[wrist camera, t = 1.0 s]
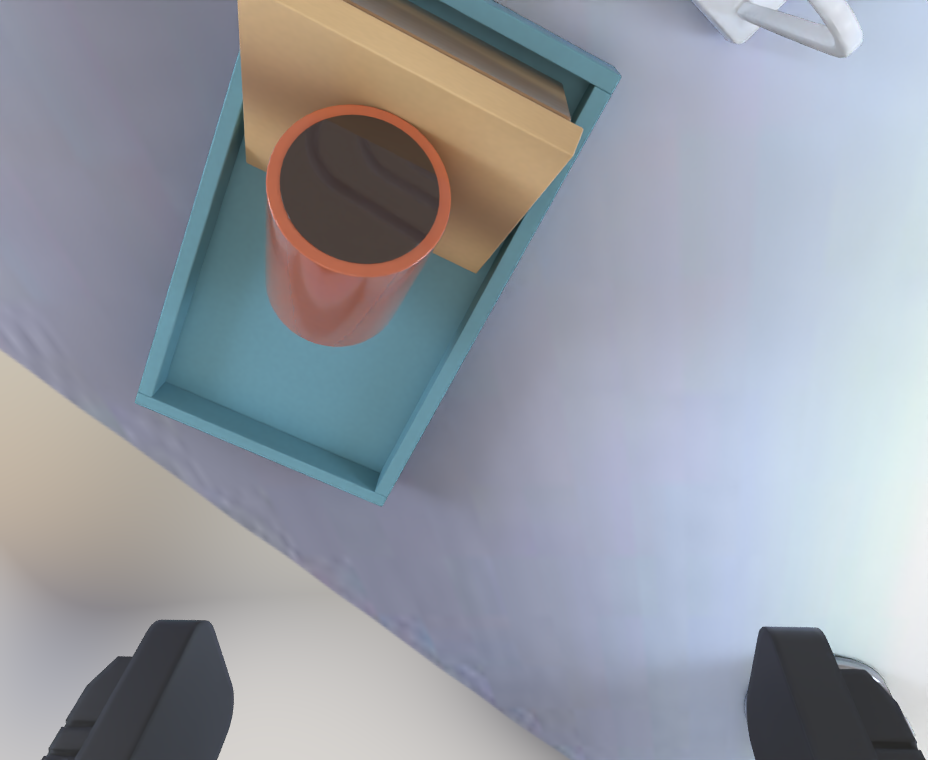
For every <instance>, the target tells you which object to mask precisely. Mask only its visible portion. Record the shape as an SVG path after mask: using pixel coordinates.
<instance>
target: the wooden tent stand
mask: <svg viewBox="0 0 928 760" xmlns="http://www.w3.org/2000/svg"><path fill="white" fill-rule="evenodd" d="M237 1H238V19H239V38H240V57H241V76H242V94H243V113H244V132H245V151H246V162H247V163H248V164H250V165H252V166H254V167H256V168H258V169H261V170H263V171H265V172H267V166H268V163H269V159H270V156H271V154H272V152H273V149H274V147H275V145H276V144H277V142H278V141H279V139H280V138H281V136H282V135H283V134H284V133H285V132H286V131H287V129H288V128H290V127H291V126H292V125H293V124H294V123H295V122H296V121H298V120H300V119H301V118H303V117H304V116H306V115H308V114H310V113H312V112H314V111H316V110H319V109H323V108H326V107H330V106H336V105H347V104H354V105H365V106H370V107H375V108H378V109H381V110H384V111H387V112H389V113H392V114H394V115H396V116H398V117H400V118H402V119H403V120H405V121H407V122H408V123H409V124H411V125H412V126H413V127H415V128H416V129H417V130H418V131H419V132H420V133H422V134H423V135H424V136H425V137H426V138H427V140H428V141H429V142H430V143H431V144H432V146H433V147H434V149H435V150H436V152H437V153H438V155H439V156H440V158H441V160H442V162H443V164H444V167H445V169H446V172H447V175H448V179H449V184H450V189H451V210H450V215H449V220H448V223H447V225H446V228H445V231H444V233H443V235H442V236H441V238H440V240H439V242H438V244H437V245H436V247H435V249H434V250H433V252H432V253H434V254H436V255H438V256H440V257H442V258H444V259H446V260H448V261H451V262H453V263H455V264H457V265H459V266H461V267H463V268H465V269H467V270H469V271H471V272H473V273H477V272H478V271H479V270H480V269H481V267H482V266H483V265H484V264H485V263H486V261H487V260H488V259H489V258H490V256H491V255H492V254H493V253H494V252H495V250H496V249H497V248H498V247H499V246H500V244H501V243H502V242H503V241H504V239H505V238H506V237H507V236H508V235H509V233H510V232H511V231H512V230H513V229H514V227H515V226H516V225H517V224H518V222H519V221H520V220H521V219H522V218H523V216H524V215H525V214H526V213H527V212H528V210H529V209H530V208H531V207H532V205H533V204H534V203H535V202H536V201H537V199H538V198H539V197H540V196H541V195H542V193H543V192H544V191H545V190H546V188H547V187H548V186H549V185H550V184H551V182H552V181H553V180H554V179H555V178H556V176H557V175H558V174H559V173H560V172H561V170H562V169H563V168H564V167H565V165H566V164H567V163H568V162H569V161H570V159H571V158H572V157H573V155H574V153H575V150H576V148H577V145H578V143H579V140H580V138H581V135H582V133H583V128H582V127H580V126H578V125H576V124H574V123H572V122H570V121H571V116H570V112H569V108H568V104H567V100H566V96H565V92H564V88H563V84H562V83H560V82H558V81H556V80H555V79H553V78H551V77H549V76H547V75H545V74H543V73H542V72H540V71H538V70H536V69H534V68H532V67H530V66H529V65H527V64H525V63H523V62H521V61H519V60H518V59H516V58H514V57H512V56H510V55H508V54H506V53H505V52H503V51H501V50H499V49H497V48H495V47H493V46H492V45H490V44H488V43H486V42H484V41H482V40H480V39H479V38H477V37H475V36H473V35H471V34H469V33H467V32H466V31H464V30H462V29H460V28H458V27H456V26H455V25H453V24H451V23H449V22H447V21H445V20H443V19H442V18H440V17H438V16H436V15H434V14H432V13H430V12H429V11H427V10H425V9H423V8H421V7H419V6H417V5H416V4H414V3H412V2H410V1H408V0H237Z"/></svg>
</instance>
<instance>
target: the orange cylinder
mask: <svg viewBox="0 0 928 760" xmlns="http://www.w3.org/2000/svg"><path fill="white" fill-rule="evenodd" d="M450 210H451V189H450V184H449V179H448V175H447V172H446V169H445V167H444V164H443V162H442V160H441V158H440V156H439V155H438V153H437V152H436V150H435V149H434V147H433V146H432V144H431V143H430V142H429V141H428V140H427V138H426V137H425V136H424V135H423V134H422V133H420V132H419V131H418V130H417V129H416V128H415V127H413V126H412V125H411V124H409V123H408V122H407V121H405V120H403V119H402V118H400V117H398V116H396V115H394V114H392V113H389V112H387V111H384V110H381V109H378V108H375V107H370V106H365V105H354V104H347V105H336V106H330V107H326V108H323V109H319V110H316V111H314V112H312V113H310V114H308V115H306V116H304V117H303V118H301V119H300V120H298V121H296V122H295V123H294V124H293V125H292V126H291V127H290V128H288V129H287V131H286V132H285V133H284V134H283V135H282V136H281V138H280V139H279V141H278V142H277V144H276V145H275V147H274V149H273V152H272V154H271V156H270V159H269V163H268V166H267V173H266V222H265V285H266V291H267V295H268V298H269V301H270V304H271V306H272V308H273V310H274V311H275V313H276V315H277V316H278V318H279V319H280V320H281V321H282V322H283V323H284V325H286V326H287V327H288V328H289V329H290V330H291V331H292V332H294V333H295V334H297V335H298V336H300V337H302V338H304V339H305V340H308V341H310V342H313V343H315V344H319V345H324V346H331V347H344V346H351V345H355V344H359V343H362V342H364V341H367V340H369V339H370V338H372V337H374V336H376V335H377V334H378V333H379V332H381V331H382V330H383V329H384V328H385V327H386V326H387V325H388V324H389V323H390V321H391V320H392V318H393V317H394V315H395V314H396V312H397V310H398V309H399V307H400V305H401V304H402V302H403V300H404V299H405V297H406V295H407V294H408V292H409V290H410V289H411V287H412V285H413V284H414V282H415V280H416V279H417V277H418V275H419V274H420V272H421V270H422V269H423V267H424V265H425V264H426V262H427V260H428V259H429V257H430V255H431V254H432V252H433V250H434V249H435V247H436V245H437V244H438V242H439V240H440V238H441V236H442V235H443V233H444V231H445V228H446V225H447V223H448V220H449V215H450Z"/></svg>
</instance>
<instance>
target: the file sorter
mask: <svg viewBox="0 0 928 760" xmlns="http://www.w3.org/2000/svg"><path fill="white" fill-rule="evenodd" d="M691 1H692V2H693V3H694V4H695V5H696V6H697V7H698V9H699V10H700V11H701V12H702V13H703V14H704V15H705V17H706V18H707V19H708V20H709V21H710V22H711V23H712V25H713V26H714V27H715V28H716V29H717V30H718V31H719V33H720V34H721V35H722V36H723V37H724V38H725V39H726V40H728V41H730V42H732V43H736V44H742V43H745V42H746V41H747V40H748V39H749V38H750V37H751V36H752V35H753V34H754V33H755V32H756V31H757V30H758V29H759V28H760V27H762V28H764V29H767V30H769V31H771V32H774V33H776V34H779V35H781V36H784V37H786V38H788V39H791V40H793V41H796V42H798V43H801V44H803V45H806V46H808V47H811V48H813V49H816V50H819V51H821V52H824V53H826V54H829V55H832V56H835V57H838V58H847V57H848V56H849V55H850V54H852V53H853V52H854V51H855V50H856V49H857V48H858V47H860V46H861V44H862V41H863V32H862V29H861V27H860V24H859V22H858V20H857V18H856V16H855V14H854V12H853V11H852V9H851V8H850V6H849V5H848V3H847V2H846V0H808V1H809V3H810V4H811V5H812V6H813V8H814V9H815V10H816V12H817V13H818V14H819V15H820V17H821V18H822V20H823V22H824V23H825V25H823V24H819V23H815V22H811V21H808V20H806V19H803V18H799V17H796V16H793V15H789V14H786V13H783V12H780V11H777V10H778V9H779V8H780V7H781V6H782V5H783V4H784V3H785V2H786V1H787V0H691Z"/></svg>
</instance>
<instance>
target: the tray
mask: <svg viewBox="0 0 928 760" xmlns="http://www.w3.org/2000/svg"><path fill="white" fill-rule="evenodd" d="M408 1H410V2H412V3H414V4H416V5H417V6H419V7H421V8H423V9H425V10H427V11H429V12H430V13H432V14H434V15H436V16H438V17H440V18H442V19H443V20H445V21H447V22H449V23H451V24H453V25H455V26H456V27H458V28H460V29H462V30H464V31H466V32H467V33H469V34H471V35H473V36H475V37H477V38H479V39H480V40H482V41H484V42H486V43H488V44H490V45H492V46H493V47H495V48H497V49H499V50H501V51H503V52H505V53H506V54H508V55H510V56H512V57H514V58H516V59H518V60H519V61H521V62H523V63H525V64H527V65H529V66H530V67H532V68H534V69H536V70H538V71H540V72H542V73H543V74H545V75H547V76H549V77H551V78H553V79H555V80H556V81H558V82H560V83H562V84H563V88H564V92H565V96H566V100H567V104H568V108H569V112H570V116H571V121H570V122H572V123H574V124H576V125H578V126H580V127H582V128H583V133H582V135H581V138H580V140H579V143H578V145H577V148H576V150H575V153H574V155H573V157H572V158H571V159H570V161H569V162H568V163H567V164H566V165H565V167H564V168H563V169H562V170H561V172H560V173H559V174H558V175H557V176H556V178H555V179H554V180H553V181H552V182H551V184H550V185H549V186H548V187H547V188H546V190H545V191H544V192H543V193H542V195H541V196H540V197H539V198H538V199H537V201H536V202H535V203H534V204H533V205H532V207H531V208H530V209H529V210H528V212H527V213H526V214H525V215H524V216H523V218H522V219H521V220H520V221H519V222H518V224H517V225H516V226H515V227H514V229H513V230H512V231H511V232H510V233H509V235H508V236H507V237H506V238H505V239H504V241H503V242H502V243H501V244H500V246H499V247H498V248H497V249H496V250H495V252H494V253H493V254H492V255H491V256H490V258H489V259H488V260H487V261H486V263H485V264H484V265H483V266H482V267H481V269H480V270H479V271H478V272H477V273H473V272H471V271H469V270H467V269H465V268H463V267H461V266H459V265H457V264H455V263H453V262H451V261H448V260H446V259H444V258H442V257H440V256H438V255H436V254H434V253H432V254H431V255H430V257H429V259H428V260H427V262H426V264H425V265H424V267H423V269H422V270H421V272H420V274H419V275H418V277H417V279H416V280H415V282H414V284H413V285H412V287H411V289H410V290H409V292H408V294H407V295H406V297H405V299H404V300H403V302H402V304H401V305H400V307H399V309H398V310H397V312H396V314H395V315H394V317H393V318H392V320H391V321H390V323H389V324H388V325H387V326H386V327H385V328H384V329H383V330H382V331H381V332H379V333H378V334H377V335H376V336H374V337H372V338H370V339H369V340H367V341H364V342H362V343H359V344H355V345H351V346H344V347H331V346H324V345H319V344H315V343H313V342H310V341H308V340H305V339H304V338H302V337H300V336H298V335H297V334H295V333H294V332H292V331H291V330H290V329H289V328H288V327H287V326H286V325H284V323H283V322H282V321H281V320H280V319H279V318H278V316H277V315H276V313H275V311H274V310H273V308H272V306H271V304H270V301H269V298H268V295H267V291H266V285H265V222H266V173H267V172H265V171H263V170H261V169H258V168H256V167H254V166H252V165H250V164H248V163H247V162H246V151H245V132H244V113H243V94H242V76H241V57H240V50H239V53H238V56H237V60H236V63H235V66H234V70H233V73H232V77H231V80H230V83H229V87H228V90H227V93H226V97H225V100H224V104H223V107H222V110H221V114H220V117H219V120H218V124H217V127H216V131H215V134H214V137H213V141H212V144H211V147H210V151H209V154H208V157H207V161H206V164H205V168H204V171H203V174H202V178H201V181H200V184H199V188H198V191H197V195H196V198H195V201H194V205H193V208H192V211H191V215H190V218H189V221H188V225H187V228H186V232H185V235H184V238H183V242H182V245H181V248H180V252H179V255H178V259H177V262H176V265H175V269H174V272H173V275H172V279H171V282H170V285H169V289H168V292H167V296H166V299H165V302H164V306H163V309H162V312H161V316H160V319H159V323H158V326H157V329H156V333H155V336H154V339H153V343H152V346H151V349H150V353H149V356H148V360H147V363H146V366H145V370H144V373H143V376H142V380H141V383H140V387H139V390H138V393H137V396H136V400H135V403H136V404H138V405H141V406H143V407H145V408H148V409H150V410H153V411H155V412H157V413H160V414H162V415H165V416H167V417H169V418H172V419H174V420H176V421H179V422H181V423H184V424H186V425H188V426H191V427H193V428H195V429H198V430H200V431H203V432H205V433H207V434H210V435H212V436H214V437H217V438H219V439H222V440H224V441H226V442H229V443H231V444H234V445H236V446H238V447H241V448H243V449H245V450H248V451H250V452H253V453H255V454H257V455H260V456H262V457H264V458H267V459H269V460H272V461H274V462H276V463H279V464H281V465H283V466H286V467H288V468H291V469H293V470H295V471H298V472H300V473H303V474H305V475H307V476H310V477H312V478H314V479H317V480H319V481H322V482H324V483H326V484H329V485H331V486H333V487H336V488H338V489H341V490H343V491H345V492H348V493H350V494H353V495H355V496H357V497H360V498H362V499H364V500H367V501H369V502H372V503H374V504H376V505H379V506H381V507H382V506H383V504H384V502H385V501H386V499H387V497H388V495H389V494H390V492H391V490H392V488H393V486H394V485H395V483H396V481H397V479H398V477H399V476H400V474H401V472H402V470H403V468H404V467H405V465H406V463H407V461H408V459H409V458H410V456H411V454H412V452H413V451H414V449H415V447H416V445H417V443H418V442H419V440H420V438H421V436H422V434H423V433H424V431H425V429H426V427H427V425H428V424H429V422H430V420H431V418H432V416H433V415H434V413H435V411H436V409H437V407H438V406H439V404H440V402H441V400H442V398H443V397H444V395H445V393H446V391H447V389H448V388H449V386H450V384H451V382H452V381H453V379H454V377H455V375H456V373H457V372H458V370H459V368H460V366H461V364H462V363H463V361H464V359H465V357H466V355H467V354H468V352H469V350H470V348H471V346H472V345H473V343H474V341H475V339H476V337H477V336H478V334H479V332H480V330H481V328H482V327H483V325H484V323H485V321H486V320H487V318H488V316H489V314H490V312H491V311H492V309H493V307H494V305H495V303H496V302H497V300H498V298H499V296H500V294H501V293H502V291H503V289H504V287H505V285H506V284H507V282H508V280H509V278H510V276H511V275H512V273H513V271H514V269H515V267H516V266H517V264H518V262H519V260H520V258H521V257H522V255H523V253H524V251H525V250H526V248H527V246H528V244H529V242H530V241H531V239H532V237H533V235H534V233H535V232H536V230H537V228H538V226H539V224H540V223H541V221H542V219H543V217H544V215H545V214H546V212H547V210H548V208H549V206H550V205H551V203H552V201H553V199H554V197H555V196H556V194H557V192H558V190H559V189H560V187H561V185H562V183H563V181H564V180H565V178H566V176H567V174H568V172H569V171H570V169H571V167H572V165H573V163H574V162H575V160H576V158H577V156H578V154H579V153H580V151H581V149H582V147H583V145H584V144H585V142H586V140H587V138H588V136H589V135H590V133H591V131H592V129H593V128H594V126H595V124H596V122H597V120H598V119H599V117H600V115H601V113H602V111H603V110H604V108H605V106H606V104H607V102H608V101H609V99H610V97H611V94H612V93H613V92H614V90H615V88H616V86H617V84H618V83H619V81H620V79H621V75H620V74H619V72H618V71H617V70H616V69H615V67H613V66H611V65H609V64H608V63H606V62H604V61H602V60H600V59H599V58H597V57H595V56H593V55H591V54H589V53H588V52H586V51H584V50H582V49H580V48H579V47H577V46H575V45H573V44H571V43H570V42H568V41H566V40H564V39H562V38H560V37H559V36H557V35H555V34H553V33H551V32H550V31H548V30H546V29H544V28H542V27H540V26H539V25H537V24H535V23H533V22H531V21H530V20H528V19H526V18H524V17H522V16H520V15H519V14H517V13H515V12H513V11H511V10H510V9H508V8H506V7H504V6H502V5H500V4H499V3H497V2H495V1H493V0H408Z"/></svg>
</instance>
